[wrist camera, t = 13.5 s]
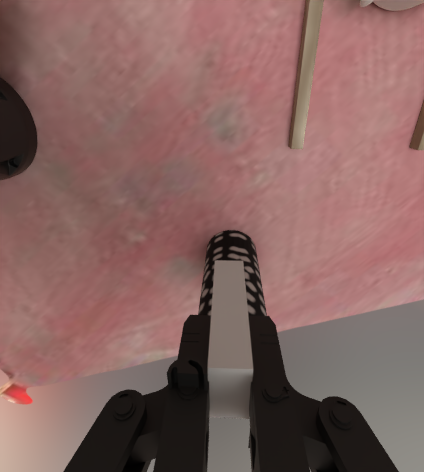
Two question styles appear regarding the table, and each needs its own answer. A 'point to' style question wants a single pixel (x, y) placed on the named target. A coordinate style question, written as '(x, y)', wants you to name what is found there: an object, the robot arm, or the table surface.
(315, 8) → the guide channel
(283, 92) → the table surface
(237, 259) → the spotted tube
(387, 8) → the mug
